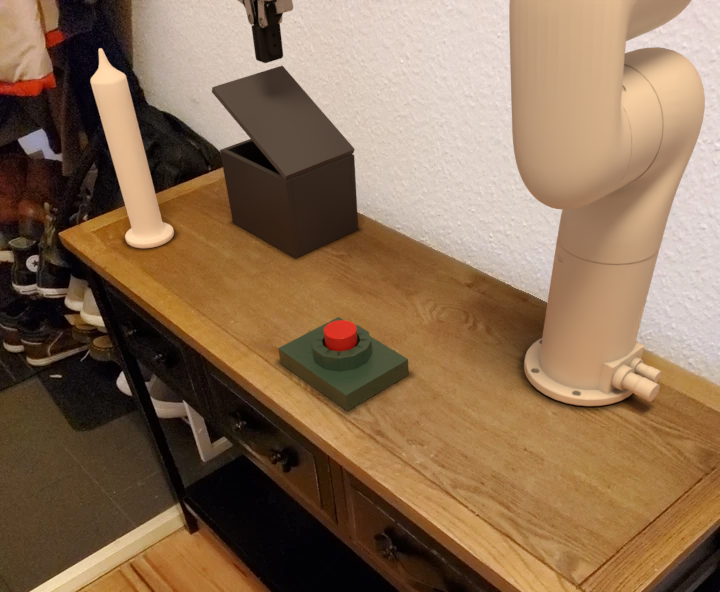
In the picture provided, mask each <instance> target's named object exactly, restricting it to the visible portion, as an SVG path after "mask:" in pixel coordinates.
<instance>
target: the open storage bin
mask: <svg viewBox="0 0 720 592" xmlns="http://www.w3.org/2000/svg"><path fill="white" fill-rule="evenodd" d="M219 153H220V158H221V164H222V169H223V175H224V181H225V186H226V193H227V197H228V203H229V207H230V208H229V209H230V214H231V220H232V223H233V224H235V225H236V226H238V227H239V228H241V229H243V230H245V231H246V232H249V233H250V234H252V235H253V236H255V237H257V238H259V239H260V240H263V241H264V242H266V243H267V244H269V245H271V246H273V247H274V248H277V249H278V250H280V251H282V252H284V253H285V254H287V255H288V256H290V257H293V258H294V259H298V258H300V257H302V256H304V255H307V254H309V253H311V252H313V251H315V250H317V249H320V248H322V247H324V246H326V245H328V244H331V243H332V242H335V241H337V240H340V239H341V238H343V237H346V236H348V235H350V234H352V233H354V232H357V231H359V217H358V216H359V215H358V201H357V199H358V197H357V180H356V162H355V154H354V153H353V154H351V155H348V156H346V157H343V158H341V159H338V160H336V161H333V162H331V163H328V164H326V165H323V166H321V167H318V168H315V169H313V170H310V171H308V172H305V173H303V174H300V175H298V176H295V177H293V178H290V179H288V180H285V179H284V178H283V177H282V176H281V174H280V173H279V172H278V171H277V170H276V168H275V167H274V166H273V165H272V164H271V162H270V161H269V160H268V159H267V158H266V156H265V155H264V154H263V153H262V152H261V150H260V149H259V148H258V147H257V146H256V144H255V143H254V142H253V141H252V140H251V138H249V139H246V140H243V141H241V142H238V143H235V144H232V145H229V146H227V147H223V148H221V149H219Z"/></svg>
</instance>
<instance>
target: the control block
mask: <svg viewBox="0 0 720 592" xmlns="http://www.w3.org/2000/svg"><path fill="white" fill-rule="evenodd" d="M338 320H344V318H342V317H340V316H338V317H336V318H333V319H332V320H330V321H328V322H326V323H323V324H322V325H320V326H318V327H316V328H314V329H312V330H310V331H308V332H306V333H305V334H302V335H301V336H299V337H297V338H295V339H292V340H291V341H288V342H287V343H285V344H283V345H282V346H279V347H278V348H277V349H278V355H279V362H280V364H281V365H282V366H283V367H285V368H286V369H287V370H289V371H290V372H291V373H294V374H295V375H296V376H297V377H299V378H300V379H301V380H302V381H305V383H307V384H308V385H310V386H311V387H313V388H314V389H315V390H317V391H318V392H319V393H321V394H323V395H324V396H325V397H326V398H328V399H329V400H331V401H332V402H333V403H335V404H336V405H338V406H339V407H341V408H342V409H344V411H346V412H348V411H350V410H352V409H354V408H356V407H357V406H359V405H360V404H362V403H364V402H365V401H367V400H369V399H371V398H372V397H374V396H375V395H377V394H379V393H381V392H383V391H384V390H386V389H388V388H389V387H391V386H392V385H394V384H397V382H400V381H401V380H403V379H404V378H406V377H408V376H409V358H408V357H405V356H404V355H403V354H400V353H399V352H398V351H396V350H394V349H392V348H391V347H389V346H388V345H386V344H384V343H382V342H381V341H379V340H378V339H376V338H375V337H373V336H371V335H370V332H369V331H368V330H366V329H365V328H363V327H362V326H361V325H358V324H355V326H356V327H357V345H356V346H355V347H354V348H352V349H350V350H346V351H339V352H338V351H332V350H330V349H328V348H327V347H326V345H325V338H324V328H325V326H326V325H327V324H329V323H331V322H333V321H338Z"/></svg>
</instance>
